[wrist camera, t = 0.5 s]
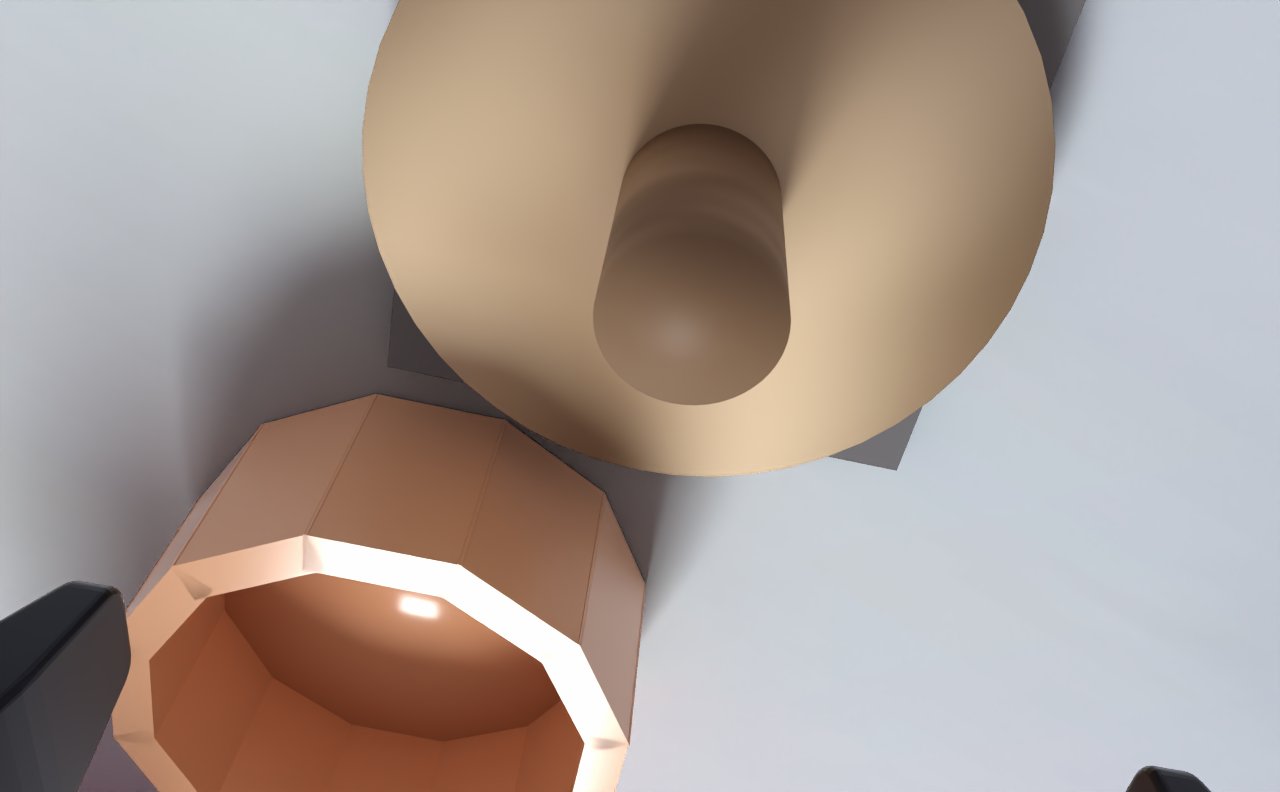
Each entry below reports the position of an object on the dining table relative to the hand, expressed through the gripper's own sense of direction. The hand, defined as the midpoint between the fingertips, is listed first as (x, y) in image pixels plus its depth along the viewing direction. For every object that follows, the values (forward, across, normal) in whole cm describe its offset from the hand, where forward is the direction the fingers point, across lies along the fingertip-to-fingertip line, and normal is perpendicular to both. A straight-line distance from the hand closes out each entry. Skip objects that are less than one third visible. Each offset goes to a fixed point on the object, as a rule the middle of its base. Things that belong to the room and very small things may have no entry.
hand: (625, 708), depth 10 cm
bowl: (+12, +4, +10) cm, 16 cm away
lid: (+11, 0, 0) cm, 11 cm away
